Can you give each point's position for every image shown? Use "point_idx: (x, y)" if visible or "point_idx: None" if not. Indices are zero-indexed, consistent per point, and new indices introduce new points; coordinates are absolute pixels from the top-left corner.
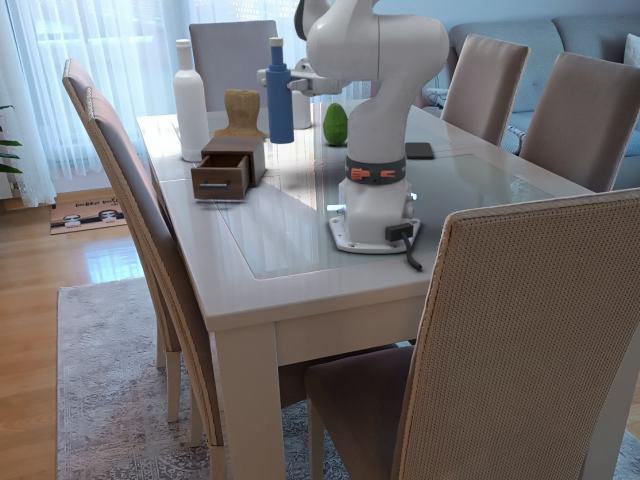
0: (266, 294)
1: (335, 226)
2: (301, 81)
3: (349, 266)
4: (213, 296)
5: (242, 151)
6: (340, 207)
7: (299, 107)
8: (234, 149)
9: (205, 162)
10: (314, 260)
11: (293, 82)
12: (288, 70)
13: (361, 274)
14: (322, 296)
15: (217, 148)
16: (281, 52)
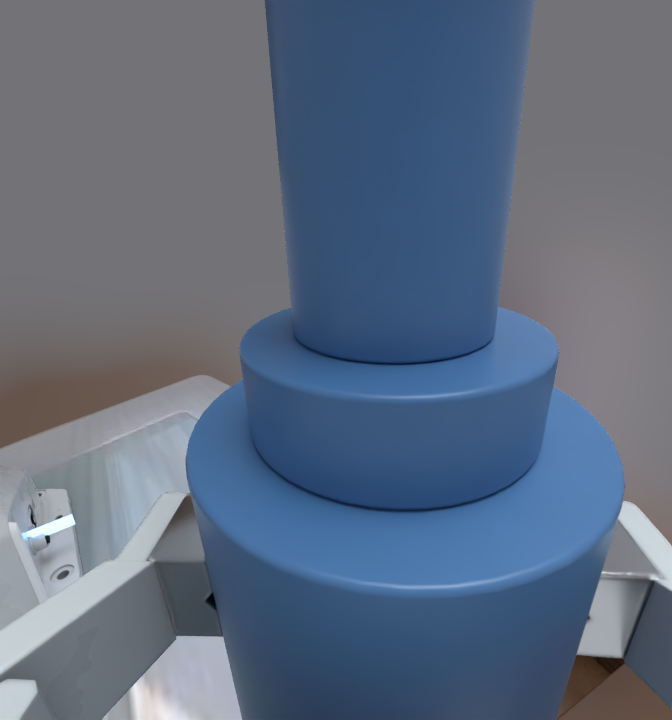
0: (163, 399)
1: (65, 548)
2: (21, 624)
3: (54, 465)
4: (216, 385)
5: (565, 712)
6: (36, 532)
7: None
8: (630, 717)
9: None
10: (112, 460)
11: (149, 514)
12: (221, 450)
13: (37, 456)
14: (97, 413)
15: None
16: (277, 126)
